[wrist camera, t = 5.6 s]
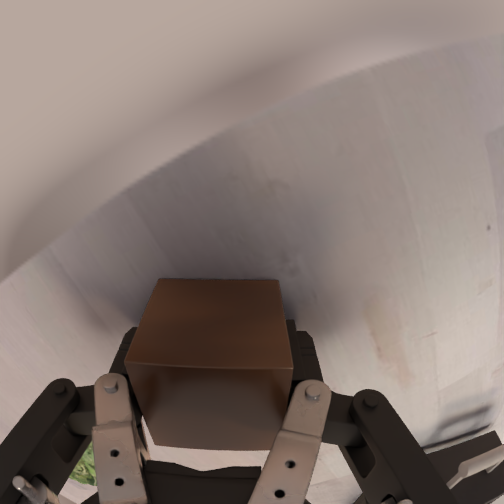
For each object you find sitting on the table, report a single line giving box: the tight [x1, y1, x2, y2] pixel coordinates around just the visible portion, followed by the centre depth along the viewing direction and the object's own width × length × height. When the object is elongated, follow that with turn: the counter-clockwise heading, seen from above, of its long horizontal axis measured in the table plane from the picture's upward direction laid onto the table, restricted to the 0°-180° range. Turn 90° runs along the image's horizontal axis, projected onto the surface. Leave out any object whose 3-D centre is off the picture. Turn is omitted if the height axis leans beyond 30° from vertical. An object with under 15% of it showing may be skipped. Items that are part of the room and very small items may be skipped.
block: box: [124, 279, 294, 451], centre depth 12 cm, size 5×5×5 cm
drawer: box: [426, 430, 504, 504], centre depth 19 cm, size 17×11×7 cm
